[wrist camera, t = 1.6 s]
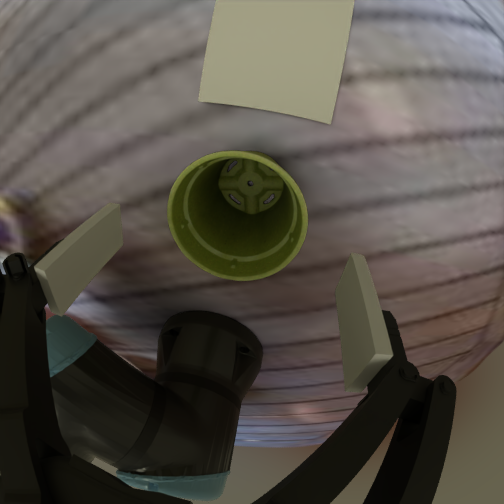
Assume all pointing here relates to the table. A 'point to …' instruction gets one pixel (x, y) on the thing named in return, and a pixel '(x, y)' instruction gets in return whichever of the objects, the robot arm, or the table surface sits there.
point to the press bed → (277, 55)
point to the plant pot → (237, 215)
